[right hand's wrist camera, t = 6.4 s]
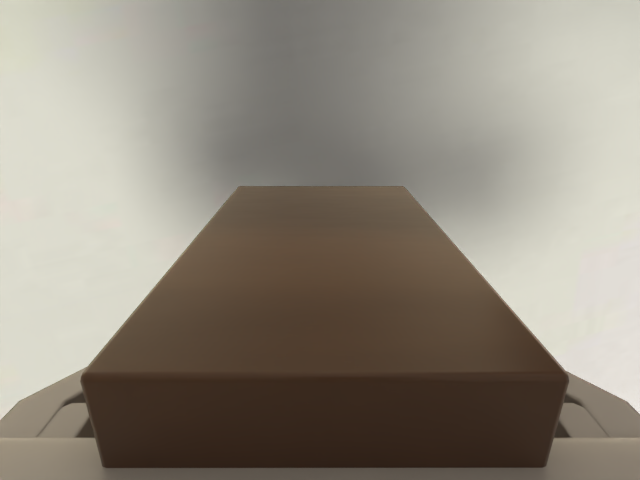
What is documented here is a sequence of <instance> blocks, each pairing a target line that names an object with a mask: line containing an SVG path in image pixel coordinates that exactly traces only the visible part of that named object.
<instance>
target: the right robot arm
mask: <svg viewBox="0 0 640 480" xmlns="http://www.w3.org/2000/svg"><path fill="white" fill-rule="evenodd" d="M86 368H87V367H86ZM86 368H84V369H82V370H80V371H78V372H76V373H74V374H72V375H70V376H68V377H66V378H64V379H62V380H60V381H58V382H56V383H54V384H52V385H50V386H48V387H46V388H44V389H42V390H40V391H38V392H36V393H34V394H32V395H30V396H28V397H26V398H24V399H22V400H20V401H19V402H18V403H17V404H16V405H15V406H14V407H13V408H12V409H11V410H10V411H9V412H8V413H7V414H6V415H5V416H4V417H3V418H2V419H1V420H0V480H640V414H639V413H638V412H637V411H636V410H635V409H634V408H633V407H632V406H631V405H630V404H629V403H628V402H627V401H625V400H623V399H621V398H619V397H617V396H615V395H613V394H611V393H609V392H607V391H605V390H603V389H601V388H599V387H597V386H595V385H593V384H591V383H589V382H587V381H585V380H583V379H581V378H579V377H577V376H575V375H573V374H571V373H569V372H567V371H566V372H567V374H568V377H569V384H568V388H567V391H566V395H565V399H564V402H563V406H562V410H561V414H560V417H559V421H558V425H557V428H556V432H555V436H554V439H553V443H552V447H551V450H550V454H549V458H548V461H547V465H546V466H545V467H543V468H105V467H102V463H101V459H100V456H99V452H98V448H97V444H96V440H95V436H94V433H93V429H92V425H91V421H90V417H89V413H88V409H87V406H86V402H85V398H84V394H83V390H82V386H81V383H80V380H81V375H82V373H83V372H84V370H85V369H86Z"/></svg>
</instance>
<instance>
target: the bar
mask: <svg viewBox="0 0 640 480" xmlns="http://www.w3.org/2000/svg"><path fill="white" fill-rule="evenodd" d="M80 383H81V386H82V390H83V394H84V398H85V402H86V406H87V409H88V413H89V417H90V421H91V425H92V429H93V433H94V436H95V440H96V444H97V448H98V452H99V456H100V459H101V463H102V467H105V468H543V467H545V466H546V465H547V461H548V458H549V454H550V450H551V447H552V443H553V439H554V436H555V432H556V428H557V425H558V421H559V417H560V414H561V410H562V406H563V402H564V399H565V395H566V391H567V388H568V384H569V377H568V374H567V372H566V371H565V370H564V369H563V368H562V366H561V365H560V364H559V363H558V362H557V361H556V360H555V358H554V357H553V356H552V355H551V354H550V353H549V352H548V350H547V349H546V348H545V347H544V346H543V345H542V344H541V342H540V341H539V340H538V339H537V338H536V337H535V336H534V334H533V333H532V332H531V331H530V330H529V329H528V328H527V326H526V325H525V324H524V323H523V322H522V321H521V320H520V318H519V317H518V316H517V315H516V314H515V313H514V312H513V310H512V309H511V308H510V307H509V306H508V305H507V304H506V302H505V301H504V300H503V299H502V298H501V297H500V296H499V294H498V293H497V292H496V291H495V290H494V289H493V288H492V286H491V285H490V284H489V283H488V282H487V281H486V280H485V278H484V277H483V276H482V275H481V274H480V273H479V272H478V270H477V269H476V268H475V267H474V266H473V265H472V264H471V262H470V261H469V260H468V259H467V258H466V257H465V256H464V254H463V253H462V252H461V251H460V250H459V249H458V248H457V246H456V245H455V244H454V243H453V242H452V241H451V240H450V238H449V237H448V236H447V235H446V234H445V233H444V232H443V230H442V229H441V228H440V227H439V226H438V225H437V224H436V222H435V221H434V220H433V219H432V218H431V217H430V216H429V214H428V213H427V212H426V211H425V210H424V209H423V208H422V206H421V205H420V204H419V203H418V202H417V201H416V200H415V198H414V197H413V196H412V195H411V194H410V193H409V192H408V190H407V189H406V188H405V187H403V186H239V187H238V188H237V189H236V190H235V191H234V193H233V194H232V195H231V196H230V197H229V198H228V200H227V201H226V202H225V203H224V204H223V206H222V207H221V208H220V209H219V210H218V212H217V213H216V214H215V215H214V216H213V218H212V219H211V220H210V221H209V222H208V224H207V225H206V226H205V227H204V228H203V230H202V231H201V232H200V233H199V234H198V235H197V237H196V238H195V239H194V240H193V241H192V243H191V244H190V245H189V246H188V247H187V249H186V250H185V251H184V252H183V253H182V255H181V256H180V257H179V258H178V259H177V261H176V262H175V263H174V264H173V265H172V267H171V268H170V269H169V270H168V271H167V272H166V274H165V275H164V276H163V277H162V278H161V280H160V281H159V282H158V283H157V284H156V286H155V287H154V288H153V289H152V290H151V292H150V293H149V294H148V295H147V296H146V298H145V299H144V300H143V301H142V302H141V304H140V305H139V306H138V307H137V308H136V309H135V311H134V312H133V313H132V314H131V315H130V317H129V318H128V319H127V320H126V321H125V323H124V324H123V325H122V326H121V327H120V329H119V330H118V331H117V332H116V333H115V335H114V336H113V337H112V338H111V339H110V340H109V342H108V343H107V344H106V345H105V346H104V348H103V349H102V350H101V351H100V352H99V354H98V355H97V356H96V357H95V358H94V360H93V361H92V362H91V363H90V364H89V366H88V367H87V368H86V369H85V370H84V372H83V373H82V375H81V380H80Z"/></svg>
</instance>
